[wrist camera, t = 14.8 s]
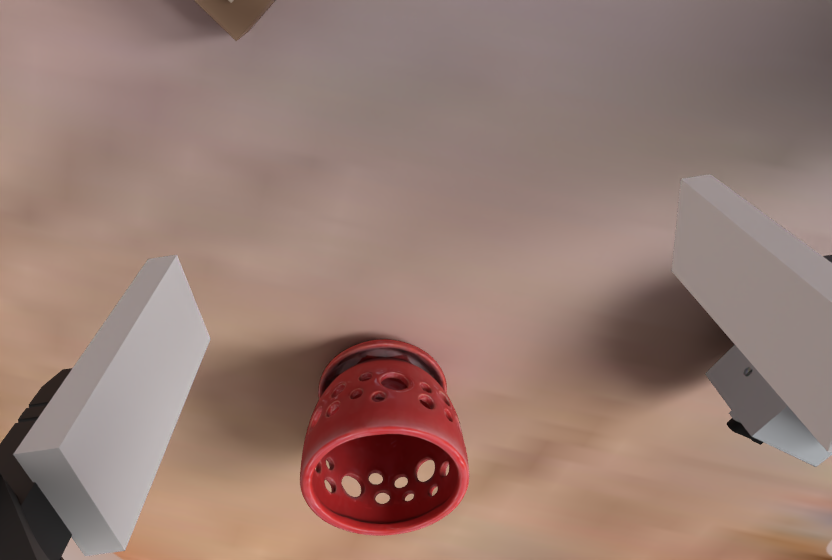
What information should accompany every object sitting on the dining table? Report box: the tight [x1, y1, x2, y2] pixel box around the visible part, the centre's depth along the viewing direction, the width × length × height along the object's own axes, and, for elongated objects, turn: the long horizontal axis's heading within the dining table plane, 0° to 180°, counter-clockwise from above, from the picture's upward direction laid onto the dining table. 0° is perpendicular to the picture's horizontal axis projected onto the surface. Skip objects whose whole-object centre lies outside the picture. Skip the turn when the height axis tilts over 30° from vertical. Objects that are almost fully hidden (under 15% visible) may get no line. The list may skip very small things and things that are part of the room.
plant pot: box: [300, 339, 469, 536], centre depth 50 cm, size 13×13×12 cm
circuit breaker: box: [705, 345, 832, 467], centre depth 47 cm, size 8×14×15 cm, turn 149°
